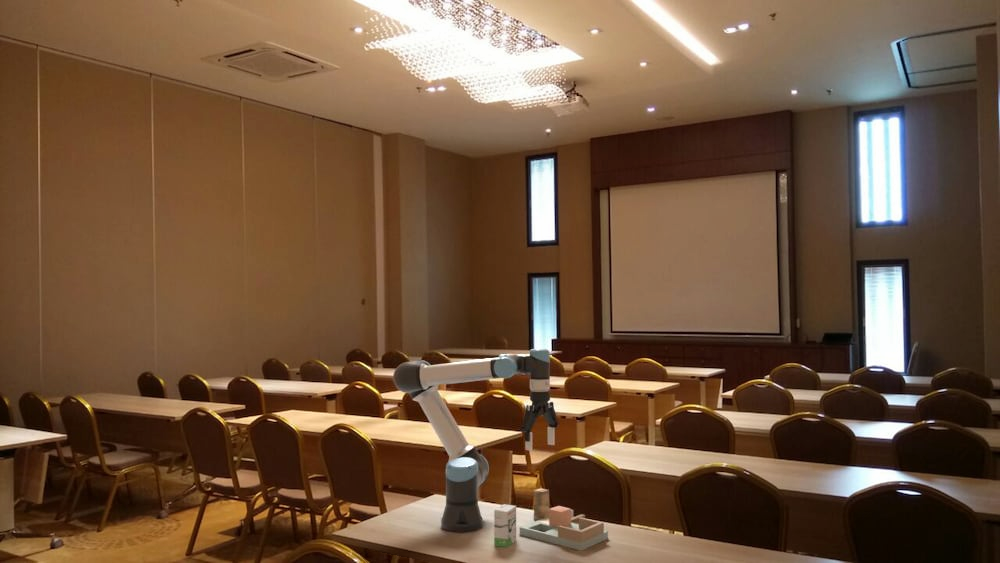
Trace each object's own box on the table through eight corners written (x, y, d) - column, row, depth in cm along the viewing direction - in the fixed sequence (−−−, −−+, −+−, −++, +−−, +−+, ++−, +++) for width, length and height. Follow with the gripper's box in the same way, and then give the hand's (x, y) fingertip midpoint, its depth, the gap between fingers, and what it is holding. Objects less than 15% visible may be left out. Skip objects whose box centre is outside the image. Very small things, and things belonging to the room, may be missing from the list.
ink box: (507, 547, 239) (507, 511, 239) (493, 545, 241) (493, 510, 241) (516, 540, 247) (516, 505, 247) (503, 538, 249) (503, 503, 249)
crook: (531, 519, 270) (531, 489, 270) (547, 514, 277) (547, 485, 277) (570, 529, 258) (570, 498, 259) (585, 523, 265) (585, 493, 266)
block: (549, 524, 255) (549, 508, 256) (559, 521, 259) (559, 505, 260) (561, 527, 252) (561, 511, 252) (571, 524, 256) (571, 508, 256)
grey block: (558, 521, 268) (558, 510, 268) (564, 518, 271) (564, 508, 271) (567, 523, 266) (566, 512, 266) (573, 520, 269) (573, 510, 269)
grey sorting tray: (519, 534, 253) (519, 517, 253) (547, 523, 265) (547, 507, 265) (581, 550, 236) (581, 532, 236) (608, 538, 248) (607, 520, 248)
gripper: (526, 394, 260) (527, 453, 259) (567, 388, 278) (567, 443, 278) (510, 392, 264) (511, 451, 264) (551, 386, 283) (552, 441, 283)
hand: (540, 447), depth 271 cm, fingers open, 13 cm apart
